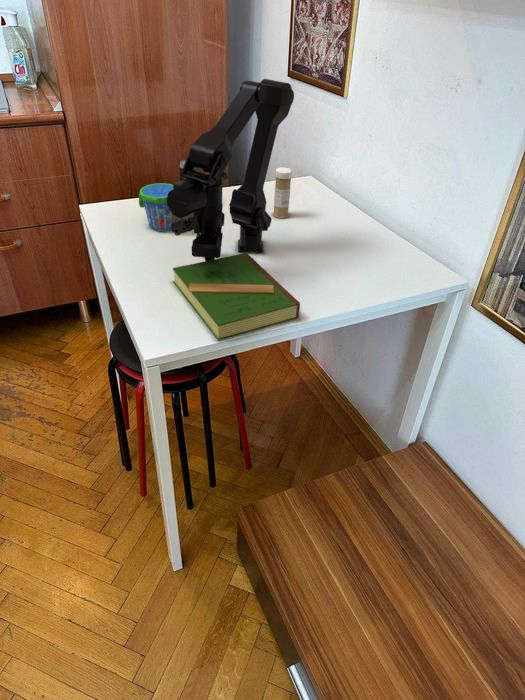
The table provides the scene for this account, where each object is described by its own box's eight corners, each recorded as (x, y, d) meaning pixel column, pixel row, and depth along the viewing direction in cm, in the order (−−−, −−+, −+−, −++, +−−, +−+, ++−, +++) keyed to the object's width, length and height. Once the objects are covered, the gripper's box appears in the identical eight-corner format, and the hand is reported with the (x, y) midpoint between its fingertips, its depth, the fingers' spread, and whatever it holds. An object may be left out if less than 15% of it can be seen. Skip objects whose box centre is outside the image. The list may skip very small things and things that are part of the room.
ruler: (189, 284, 108) (189, 283, 108) (273, 286, 109) (273, 285, 109) (188, 292, 106) (188, 290, 106) (274, 294, 107) (274, 292, 107)
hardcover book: (298, 318, 107) (300, 303, 105) (217, 340, 99) (217, 325, 97) (244, 265, 124) (245, 251, 122) (172, 281, 116) (171, 266, 114)
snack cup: (130, 222, 140) (125, 186, 133) (160, 212, 146) (158, 177, 140) (165, 241, 132) (162, 204, 125) (196, 230, 138) (195, 193, 132)
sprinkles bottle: (286, 212, 151) (289, 166, 142) (290, 218, 147) (294, 172, 139) (271, 212, 150) (274, 167, 141) (274, 219, 146) (277, 172, 138)
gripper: (177, 184, 117) (179, 244, 127) (166, 219, 102) (169, 284, 112) (225, 187, 117) (223, 247, 127) (220, 222, 103) (219, 287, 113)
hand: (208, 265), depth 120 cm, fingers closed
